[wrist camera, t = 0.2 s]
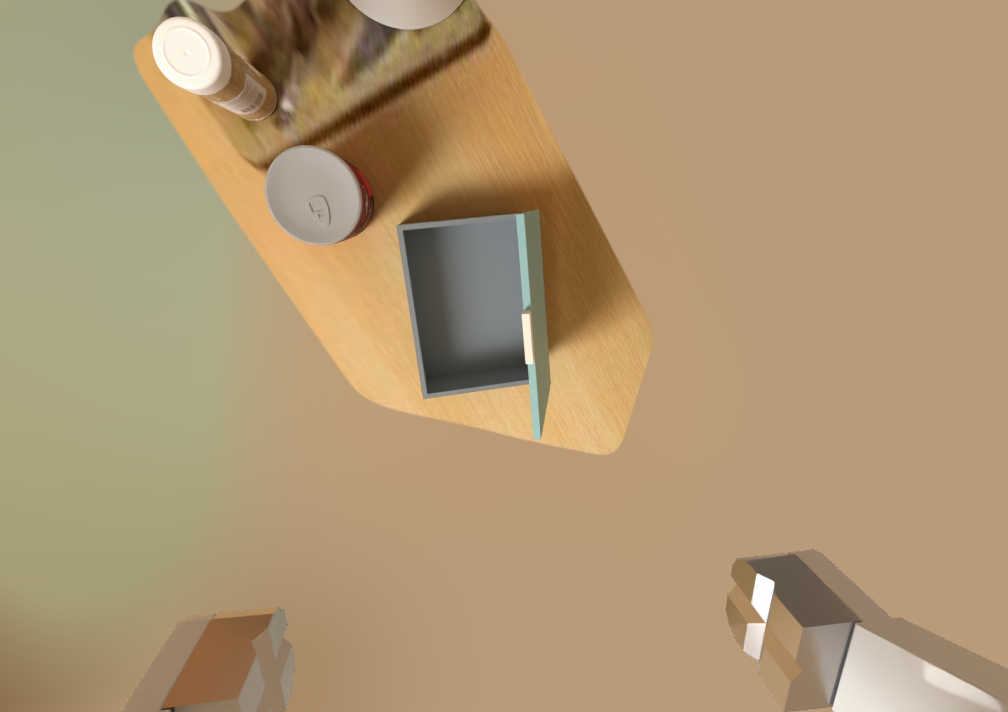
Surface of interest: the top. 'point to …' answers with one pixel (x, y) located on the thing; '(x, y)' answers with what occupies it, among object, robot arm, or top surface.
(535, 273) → the mailer lid
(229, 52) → the sprinkles bottle
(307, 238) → the canned food
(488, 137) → the top surface
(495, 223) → the box
